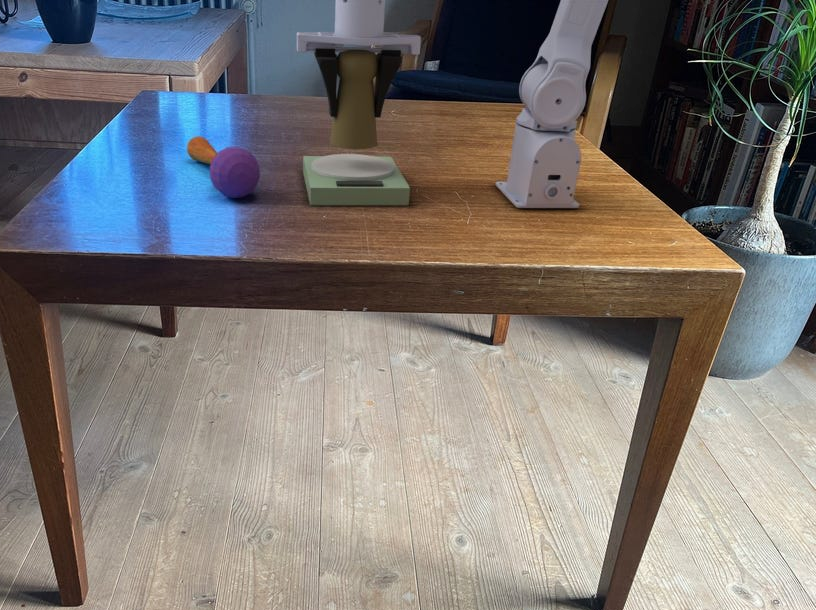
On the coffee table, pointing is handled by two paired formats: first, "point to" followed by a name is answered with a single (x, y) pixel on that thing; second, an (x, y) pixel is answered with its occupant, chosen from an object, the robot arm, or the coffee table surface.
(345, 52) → the cork
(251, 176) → the maraca
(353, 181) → the scale
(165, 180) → the coffee table surface
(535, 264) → the coffee table surface
